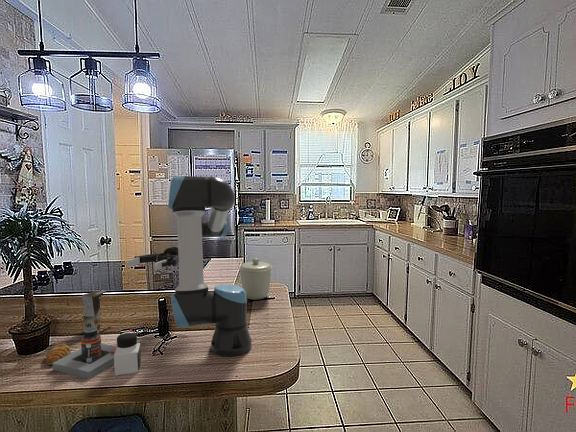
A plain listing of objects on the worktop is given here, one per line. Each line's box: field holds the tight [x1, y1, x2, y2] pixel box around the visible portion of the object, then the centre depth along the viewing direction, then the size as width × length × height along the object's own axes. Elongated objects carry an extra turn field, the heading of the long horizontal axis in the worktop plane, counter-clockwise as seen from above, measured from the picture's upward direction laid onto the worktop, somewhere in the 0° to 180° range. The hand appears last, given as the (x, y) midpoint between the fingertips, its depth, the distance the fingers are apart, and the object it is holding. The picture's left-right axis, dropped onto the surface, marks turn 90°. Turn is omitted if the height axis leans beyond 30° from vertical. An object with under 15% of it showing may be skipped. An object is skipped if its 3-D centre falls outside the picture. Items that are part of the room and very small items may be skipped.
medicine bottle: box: [113, 331, 142, 377], centre depth 116 cm, size 7×7×12 cm
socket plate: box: [52, 343, 117, 380], centre depth 120 cm, size 16×16×3 cm
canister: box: [238, 257, 273, 300], centre depth 187 cm, size 18×18×21 cm
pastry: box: [45, 343, 72, 366], centre depth 122 cm, size 9×7×4 cm
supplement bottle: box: [80, 328, 102, 364], centre depth 120 cm, size 6×6×11 cm
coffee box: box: [81, 290, 106, 334], centre depth 146 cm, size 9×6×16 cm
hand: (140, 265), depth 135 cm, fingers open, 13 cm apart
